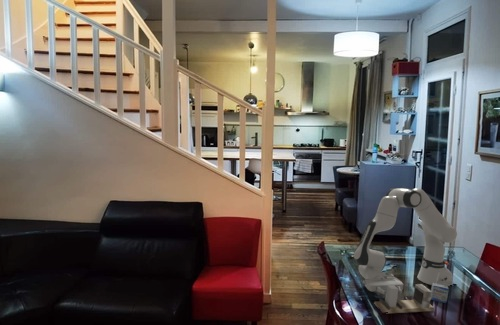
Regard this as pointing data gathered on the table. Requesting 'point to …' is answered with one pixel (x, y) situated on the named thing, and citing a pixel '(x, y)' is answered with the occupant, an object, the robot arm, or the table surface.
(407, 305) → the rail
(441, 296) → the medicine box
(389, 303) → the white tall block
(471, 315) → the table surface
